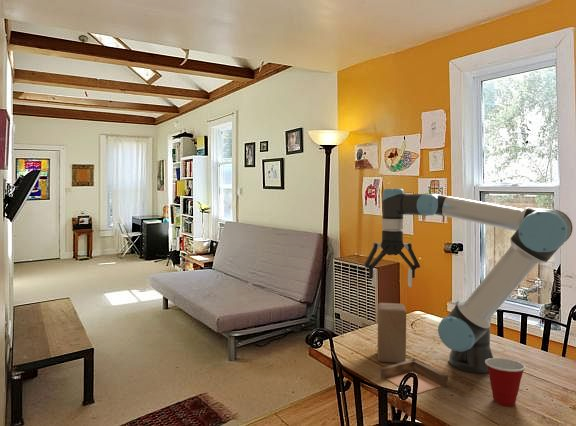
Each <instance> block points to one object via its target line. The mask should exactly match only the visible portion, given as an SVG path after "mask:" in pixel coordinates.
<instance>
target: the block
mask: <svg viewBox="0 0 576 426" xmlns="http://www.w3.org/2000/svg"><path fill="white" fill-rule="evenodd" d="M406 356H407V310H406V307H405V304H403V303H394V302H393V303H392V302H379V303H378V304H377V360H378V362H382V363H390V364H391V363H393V364H397V363H401V362H405V361H407V357H406Z"/></svg>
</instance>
